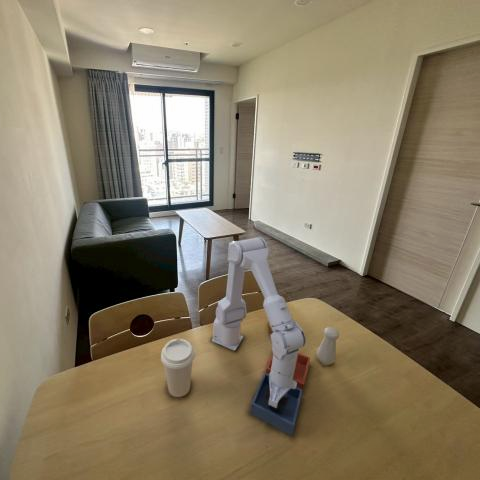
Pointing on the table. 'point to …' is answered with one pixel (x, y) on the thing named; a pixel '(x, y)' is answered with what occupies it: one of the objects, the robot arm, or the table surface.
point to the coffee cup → (178, 366)
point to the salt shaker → (328, 346)
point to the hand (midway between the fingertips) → (276, 401)
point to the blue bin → (273, 418)
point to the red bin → (296, 369)
